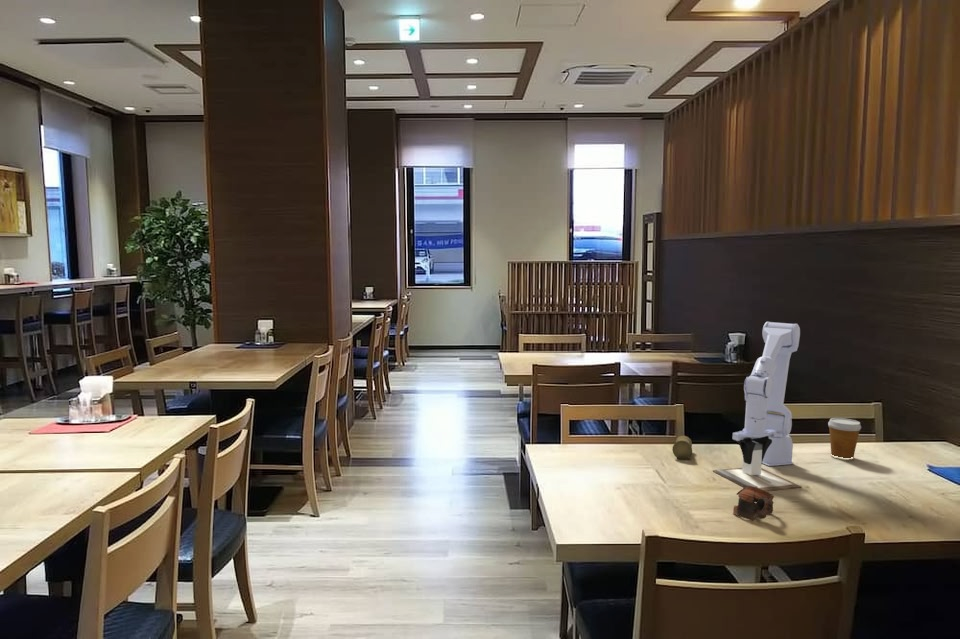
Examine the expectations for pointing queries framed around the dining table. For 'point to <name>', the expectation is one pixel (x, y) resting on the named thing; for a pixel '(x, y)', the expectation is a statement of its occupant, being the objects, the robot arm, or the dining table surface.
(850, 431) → the disposable coffee cup
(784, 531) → the dining table surface
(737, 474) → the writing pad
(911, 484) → the dining table surface
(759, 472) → the long rectangular beam
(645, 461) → the dining table surface
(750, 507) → the pottery mug
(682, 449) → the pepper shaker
